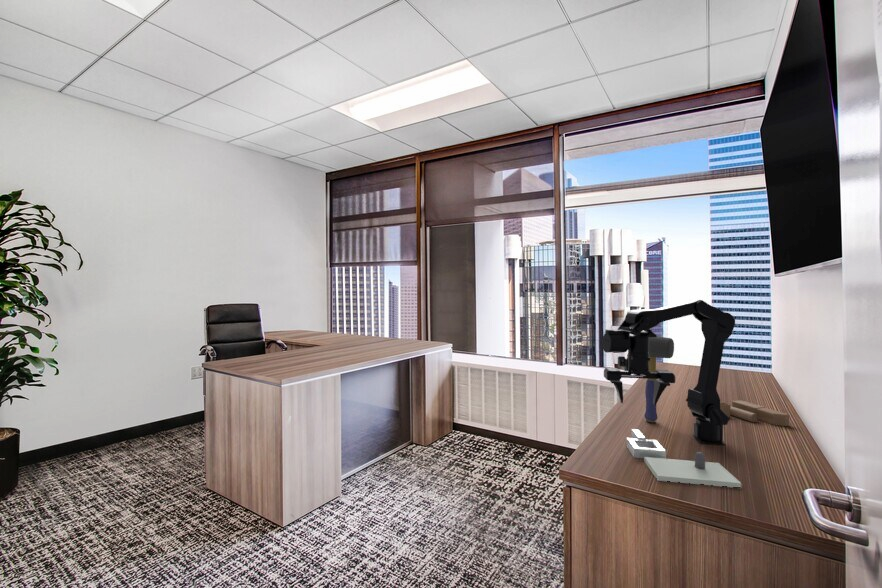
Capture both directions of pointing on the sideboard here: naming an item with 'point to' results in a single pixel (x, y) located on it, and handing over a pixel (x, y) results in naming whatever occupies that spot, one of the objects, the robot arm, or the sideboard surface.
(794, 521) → the sideboard surface
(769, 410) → the wooden block set
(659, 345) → the rubber mallet
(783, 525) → the sideboard surface
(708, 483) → the keeper board
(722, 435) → the robot arm
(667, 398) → the sideboard surface
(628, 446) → the steel link
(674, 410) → the sideboard surface
